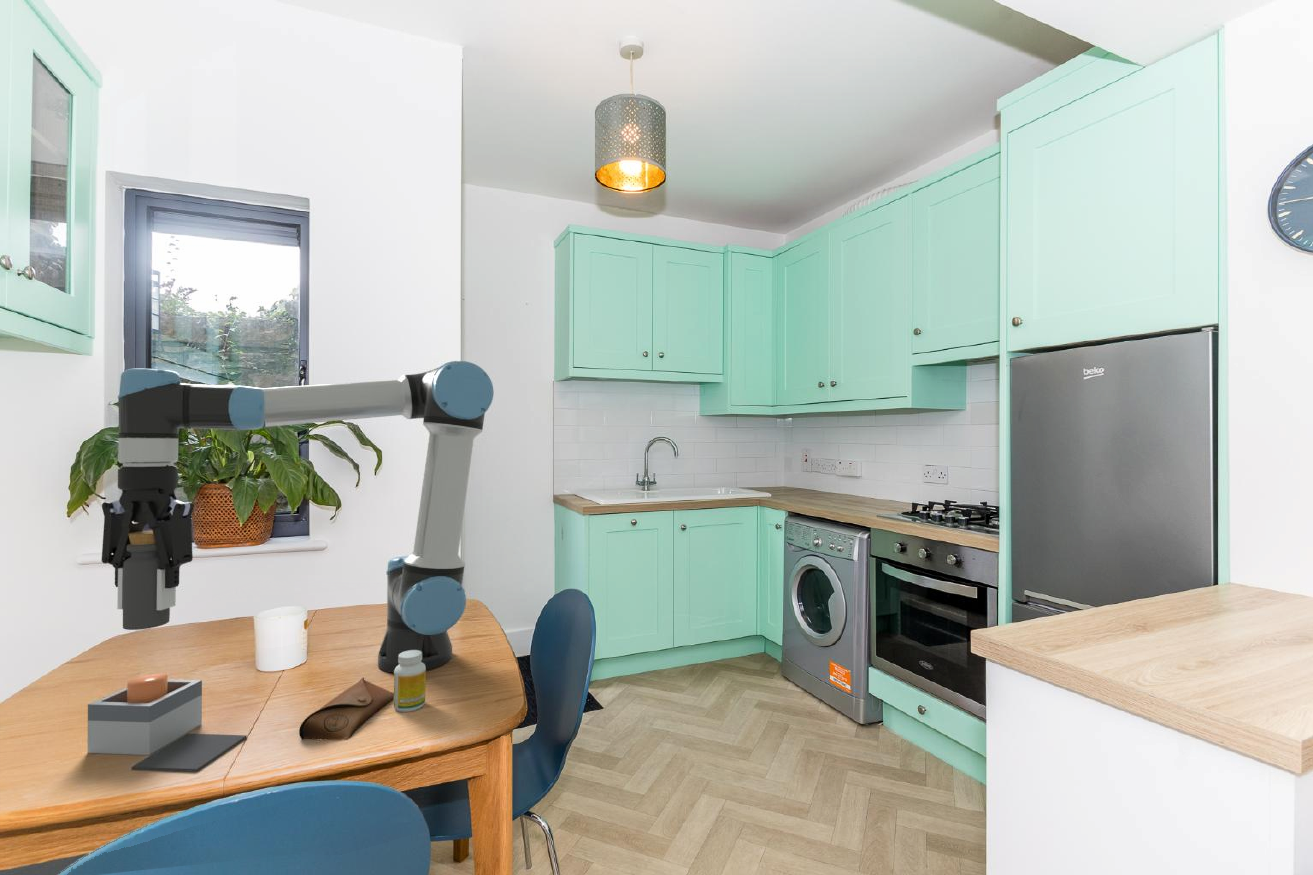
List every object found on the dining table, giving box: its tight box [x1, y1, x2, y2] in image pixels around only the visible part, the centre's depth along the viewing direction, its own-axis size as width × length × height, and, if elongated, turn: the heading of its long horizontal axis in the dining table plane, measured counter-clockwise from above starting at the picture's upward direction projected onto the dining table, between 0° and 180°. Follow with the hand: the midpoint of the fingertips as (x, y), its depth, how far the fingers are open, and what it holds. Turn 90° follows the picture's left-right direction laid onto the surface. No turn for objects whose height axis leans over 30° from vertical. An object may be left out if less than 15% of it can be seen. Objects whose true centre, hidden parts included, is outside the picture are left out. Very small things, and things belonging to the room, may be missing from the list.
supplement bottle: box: [393, 650, 427, 713], centre depth 110 cm, size 5×5×10 cm
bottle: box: [122, 529, 171, 631], centre depth 98 cm, size 6×6×15 cm
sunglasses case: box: [298, 677, 394, 741], centre depth 106 cm, size 18×7×7 cm
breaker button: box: [126, 672, 169, 703], centre depth 98 cm, size 5×5×6 cm
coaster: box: [131, 733, 248, 773], centre depth 93 cm, size 10×10×1 cm
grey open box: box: [87, 678, 203, 756], centre depth 98 cm, size 10×10×8 cm
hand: (146, 607), depth 98 cm, fingers closed on bottle, 6 cm apart
